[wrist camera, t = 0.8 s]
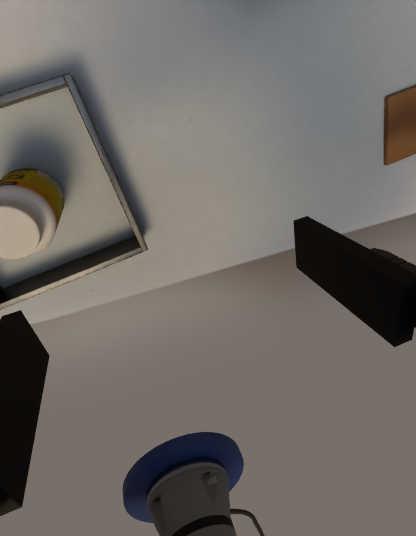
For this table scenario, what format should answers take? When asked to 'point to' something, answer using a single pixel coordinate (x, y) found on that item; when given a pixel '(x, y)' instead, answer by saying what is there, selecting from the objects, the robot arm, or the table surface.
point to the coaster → (400, 126)
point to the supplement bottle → (28, 212)
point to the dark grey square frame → (134, 244)
